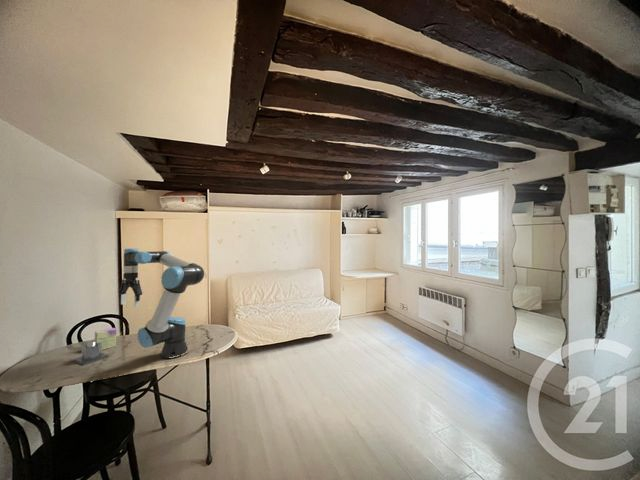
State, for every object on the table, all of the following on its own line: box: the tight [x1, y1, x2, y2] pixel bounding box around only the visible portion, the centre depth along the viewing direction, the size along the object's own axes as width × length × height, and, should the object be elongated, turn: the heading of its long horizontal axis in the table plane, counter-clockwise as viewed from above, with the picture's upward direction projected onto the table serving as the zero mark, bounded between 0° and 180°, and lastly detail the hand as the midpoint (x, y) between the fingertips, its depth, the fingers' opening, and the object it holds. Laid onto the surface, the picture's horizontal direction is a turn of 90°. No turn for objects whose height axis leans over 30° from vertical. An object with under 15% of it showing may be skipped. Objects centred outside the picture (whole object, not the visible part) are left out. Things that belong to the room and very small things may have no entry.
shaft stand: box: [72, 340, 109, 366], centre depth 153 cm, size 12×12×10 cm
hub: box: [81, 343, 102, 360], centre depth 153 cm, size 8×8×7 cm
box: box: [94, 327, 118, 351], centre depth 170 cm, size 10×6×12 cm, turn 145°
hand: (130, 305), depth 162 cm, fingers open, 13 cm apart
